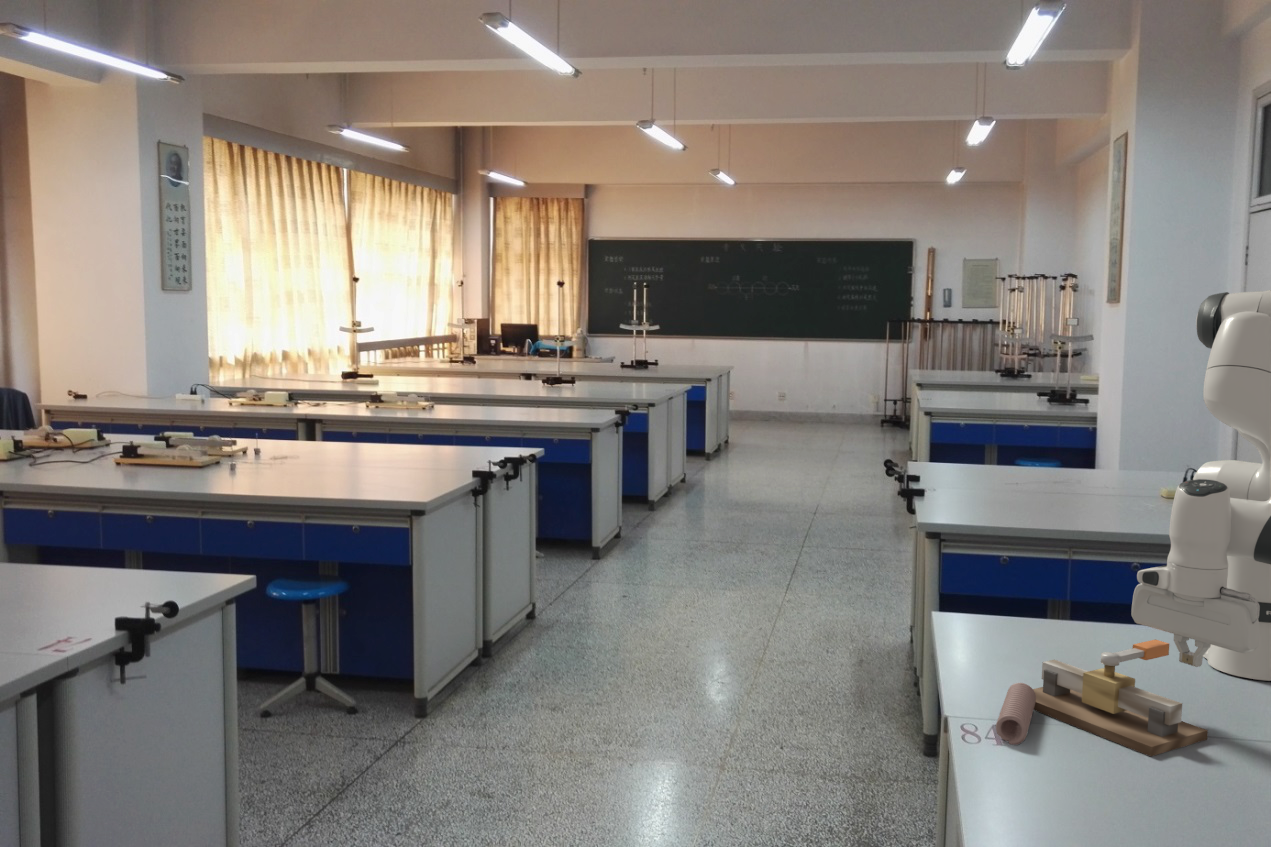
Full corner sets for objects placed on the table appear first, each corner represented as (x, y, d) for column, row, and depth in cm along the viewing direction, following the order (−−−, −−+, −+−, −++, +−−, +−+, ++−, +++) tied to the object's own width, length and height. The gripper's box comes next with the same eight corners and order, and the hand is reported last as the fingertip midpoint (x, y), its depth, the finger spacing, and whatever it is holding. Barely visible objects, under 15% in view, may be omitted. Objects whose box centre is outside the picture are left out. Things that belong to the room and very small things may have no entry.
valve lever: (1154, 650, 188) (1154, 639, 188) (1169, 655, 186) (1169, 643, 186) (1096, 663, 181) (1097, 651, 181) (1111, 668, 179) (1112, 656, 178)
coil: (1029, 721, 169) (1038, 685, 186) (997, 713, 171) (1009, 678, 187) (1024, 749, 170) (1034, 711, 186) (992, 741, 172) (1005, 704, 188)
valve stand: (1068, 688, 196) (1071, 637, 195) (1207, 739, 174) (1211, 682, 173) (1013, 702, 189) (1016, 649, 188) (1150, 756, 167) (1154, 696, 166)
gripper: (1271, 593, 171) (1264, 680, 173) (1151, 565, 189) (1146, 644, 190) (1248, 598, 168) (1241, 686, 170) (1128, 569, 186) (1123, 650, 187)
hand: (1190, 664), depth 180 cm, fingers closed
